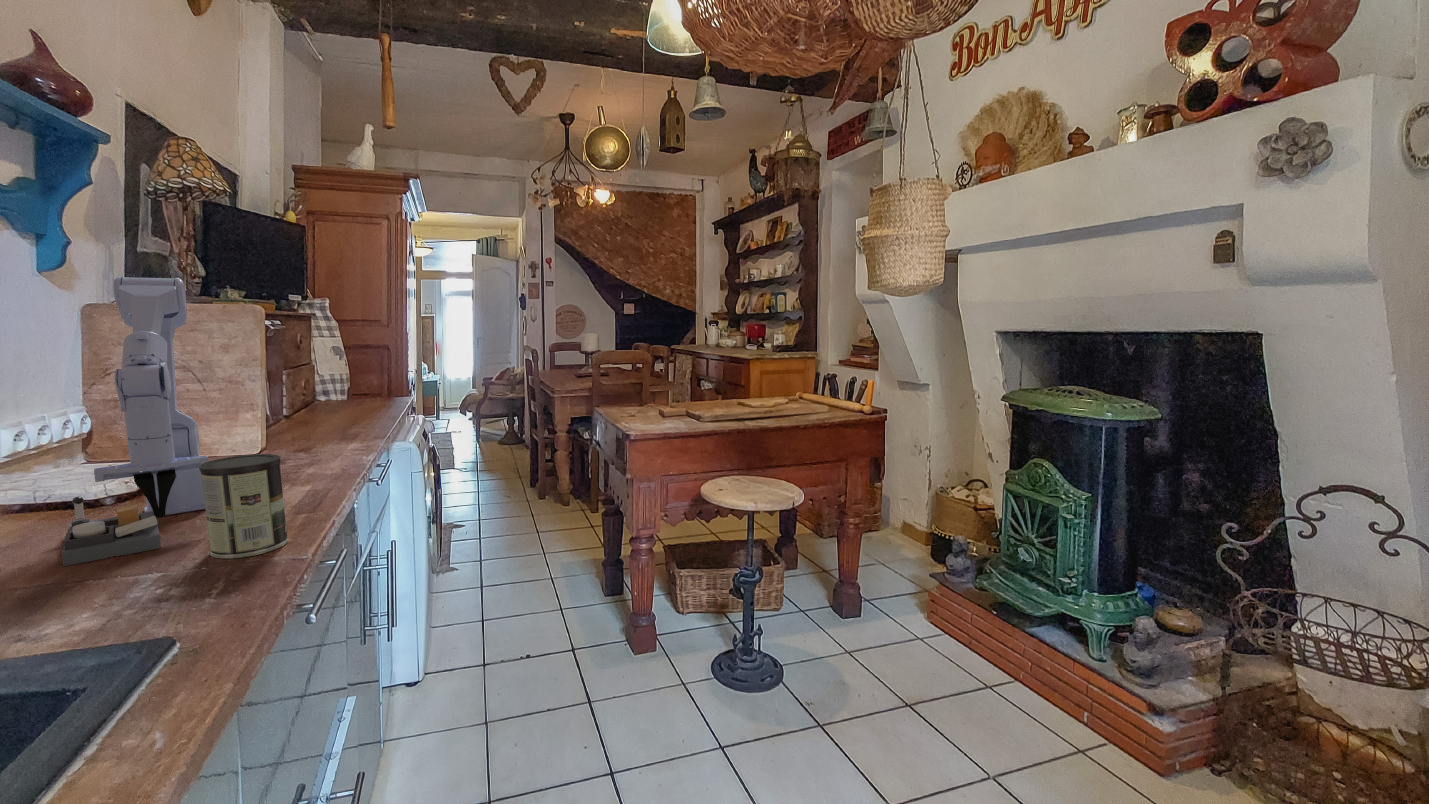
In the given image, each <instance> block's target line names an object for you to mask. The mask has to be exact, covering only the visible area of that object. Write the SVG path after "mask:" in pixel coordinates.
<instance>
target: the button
mask: <svg viewBox="0 0 1429 804" xmlns="http://www.w3.org/2000/svg"><path fill="white" fill-rule="evenodd" d="M72 529H73V536H74V538H85V537H91V536H97V535H101V534H104V533H105V532H106V530H105V522H102V521H97V522H88V523H83V524H79V525H76V526H74V527H72Z"/></svg>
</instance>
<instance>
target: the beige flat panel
mask: <svg viewBox="0 0 1429 804" xmlns="http://www.w3.org/2000/svg"><path fill="white" fill-rule="evenodd" d="M157 523H158V518H157V519H156V517H155V516H152V517H149V518H146V519H143V520H139V521H136V522H133V523H130V524H127V525H124V526H121V527H118V528H115V534H116V536H117V537H120V536H123V535H126V534H129V533H132V532H135V531H138V530H142V529H145V528H148V527H151V526H154V525H157Z"/></svg>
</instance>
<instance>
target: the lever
mask: <svg viewBox="0 0 1429 804" xmlns="http://www.w3.org/2000/svg"><path fill="white" fill-rule="evenodd" d="M84 502H85V500H84V498H83V497H81V496H76V497H74V498H72V504H73V506H74V515H75V520H82V519H85V512H84Z"/></svg>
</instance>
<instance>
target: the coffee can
mask: <svg viewBox="0 0 1429 804" xmlns="http://www.w3.org/2000/svg"><path fill="white" fill-rule="evenodd" d="M199 469H200V471H201V478H202V486H203V494H204V502H205V509H204V510H205V517H206V525H207V526H206V527H207V535H208V542H209V551H210V552H209V555H210V556H211V557H212V558H217V559H224V560H225V559H229V560H230V559H243V558H247V557H253V556H254V557H255V556H257V555H258V556H259V555H263V554H266V553H269V552H272V551H276V550H277V549H279V548H280V549H281V548H282V547H284V546H285V545H286V544H287V543H288V542H289V538H288V531H287V522H286V512H285V504H284V493H283V491H284V490H283V483H282V474H281V456H280V455H278V454H271V453H255V454H254V453H253V454H245V455H244V454H243V455H234V456H229V457H221V458H218V459H213V460H209V461H208V462H205V463H203V464H201V465H200V466H199Z"/></svg>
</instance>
